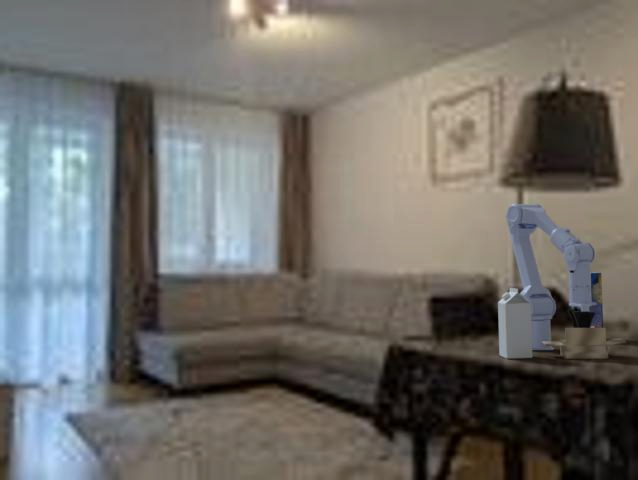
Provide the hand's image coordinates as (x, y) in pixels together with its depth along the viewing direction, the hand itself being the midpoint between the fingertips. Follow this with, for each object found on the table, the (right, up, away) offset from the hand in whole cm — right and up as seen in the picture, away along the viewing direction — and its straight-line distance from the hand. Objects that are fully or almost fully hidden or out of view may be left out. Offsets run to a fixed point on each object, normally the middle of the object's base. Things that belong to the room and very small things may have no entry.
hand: (581, 336), depth 196 cm
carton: (-2, -6, 0) cm, 6 cm away
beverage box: (+16, -7, +37) cm, 41 cm away
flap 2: (+7, -1, -4) cm, 8 cm away
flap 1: (-1, +1, -6) cm, 6 cm away
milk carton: (-18, -6, 0) cm, 19 cm away
